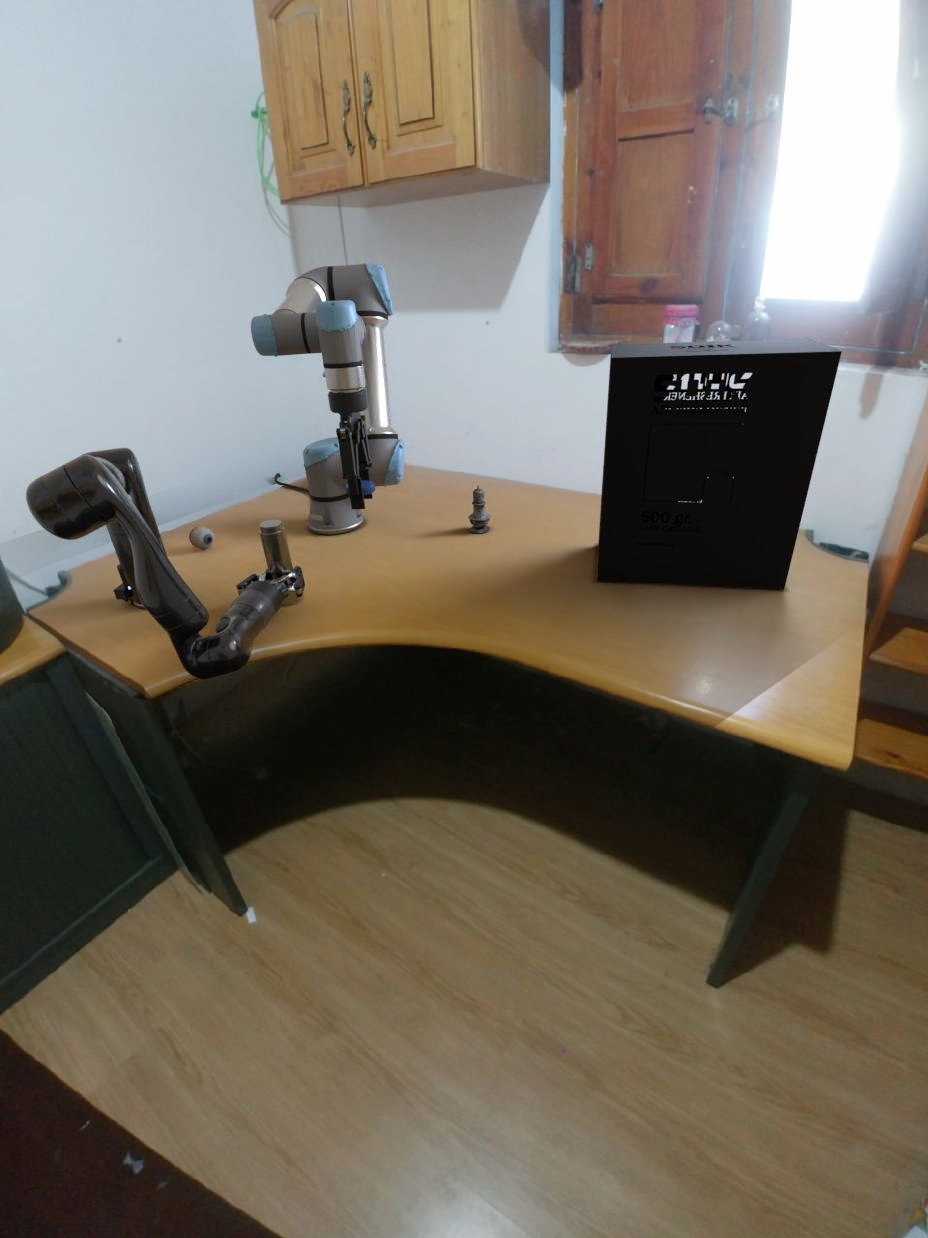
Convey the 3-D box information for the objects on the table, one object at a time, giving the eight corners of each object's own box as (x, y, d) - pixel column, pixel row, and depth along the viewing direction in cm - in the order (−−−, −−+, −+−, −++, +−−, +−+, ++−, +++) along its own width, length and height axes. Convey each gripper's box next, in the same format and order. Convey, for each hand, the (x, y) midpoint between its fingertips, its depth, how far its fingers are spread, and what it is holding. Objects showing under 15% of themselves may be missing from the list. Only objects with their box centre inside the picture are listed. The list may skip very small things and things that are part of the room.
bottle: (271, 602, 131) (252, 525, 122) (288, 592, 134) (271, 517, 125) (286, 607, 128) (268, 529, 119) (304, 597, 132) (288, 521, 123)
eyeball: (203, 554, 156) (196, 532, 153) (187, 550, 159) (181, 528, 156) (222, 546, 160) (216, 524, 157) (206, 542, 163) (200, 521, 160)
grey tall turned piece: (488, 533, 158) (487, 489, 152) (466, 533, 159) (464, 488, 153) (492, 525, 163) (491, 481, 157) (471, 524, 164) (469, 481, 158)
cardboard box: (763, 549, 141) (808, 338, 118) (784, 589, 124) (841, 351, 101) (598, 544, 148) (611, 344, 126) (596, 581, 131) (611, 357, 109)
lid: (381, 489, 129) (380, 481, 128) (362, 497, 124) (361, 490, 124) (359, 485, 132) (358, 478, 131) (340, 494, 127) (339, 486, 126)
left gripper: (286, 590, 113) (315, 553, 128) (214, 590, 115) (251, 554, 130) (294, 625, 117) (321, 585, 132) (224, 624, 119) (258, 585, 133)
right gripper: (341, 382, 126) (356, 489, 138) (312, 398, 110) (332, 519, 122) (376, 381, 126) (388, 489, 137) (352, 397, 109) (369, 518, 121)
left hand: (286, 569), depth 131 cm, fingers closed on bottle, 5 cm apart
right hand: (362, 503), depth 129 cm, fingers closed on lid, 6 cm apart
